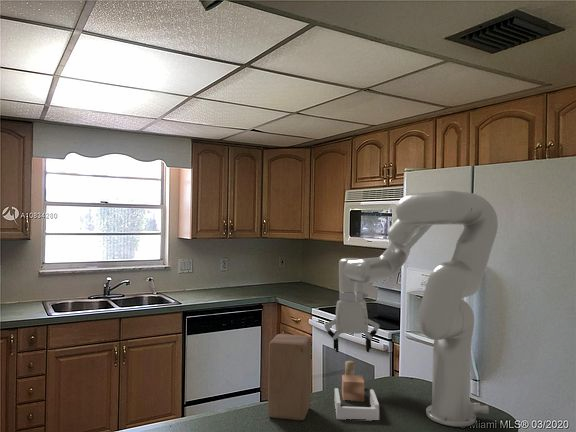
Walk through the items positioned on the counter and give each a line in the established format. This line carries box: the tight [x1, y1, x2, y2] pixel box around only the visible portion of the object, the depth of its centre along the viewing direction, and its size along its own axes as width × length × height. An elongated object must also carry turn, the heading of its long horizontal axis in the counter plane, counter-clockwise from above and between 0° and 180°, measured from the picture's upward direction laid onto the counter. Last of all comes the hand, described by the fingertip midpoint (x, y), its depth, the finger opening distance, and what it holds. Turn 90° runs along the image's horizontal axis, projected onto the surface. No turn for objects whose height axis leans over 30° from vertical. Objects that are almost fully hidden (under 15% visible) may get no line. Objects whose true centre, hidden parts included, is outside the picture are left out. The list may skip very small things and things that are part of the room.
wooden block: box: [267, 333, 312, 421], centre depth 127 cm, size 10×10×20 cm
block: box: [341, 360, 365, 402], centre depth 144 cm, size 6×15×7 cm, turn 178°
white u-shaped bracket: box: [333, 387, 380, 421], centre depth 129 cm, size 11×12×4 cm
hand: (352, 351), depth 149 cm, fingers open, 9 cm apart
